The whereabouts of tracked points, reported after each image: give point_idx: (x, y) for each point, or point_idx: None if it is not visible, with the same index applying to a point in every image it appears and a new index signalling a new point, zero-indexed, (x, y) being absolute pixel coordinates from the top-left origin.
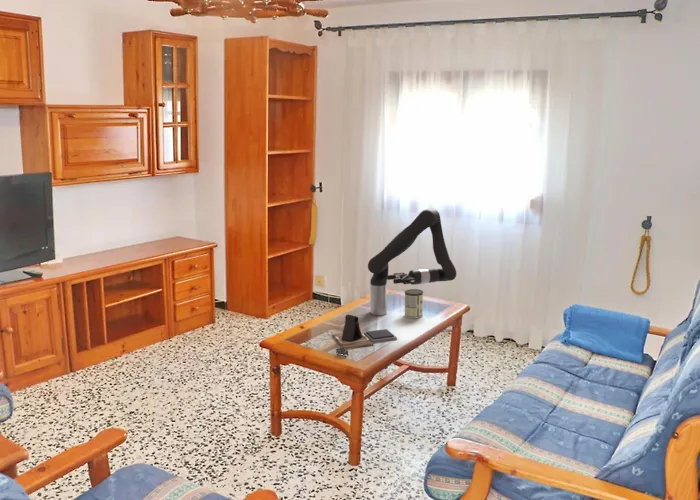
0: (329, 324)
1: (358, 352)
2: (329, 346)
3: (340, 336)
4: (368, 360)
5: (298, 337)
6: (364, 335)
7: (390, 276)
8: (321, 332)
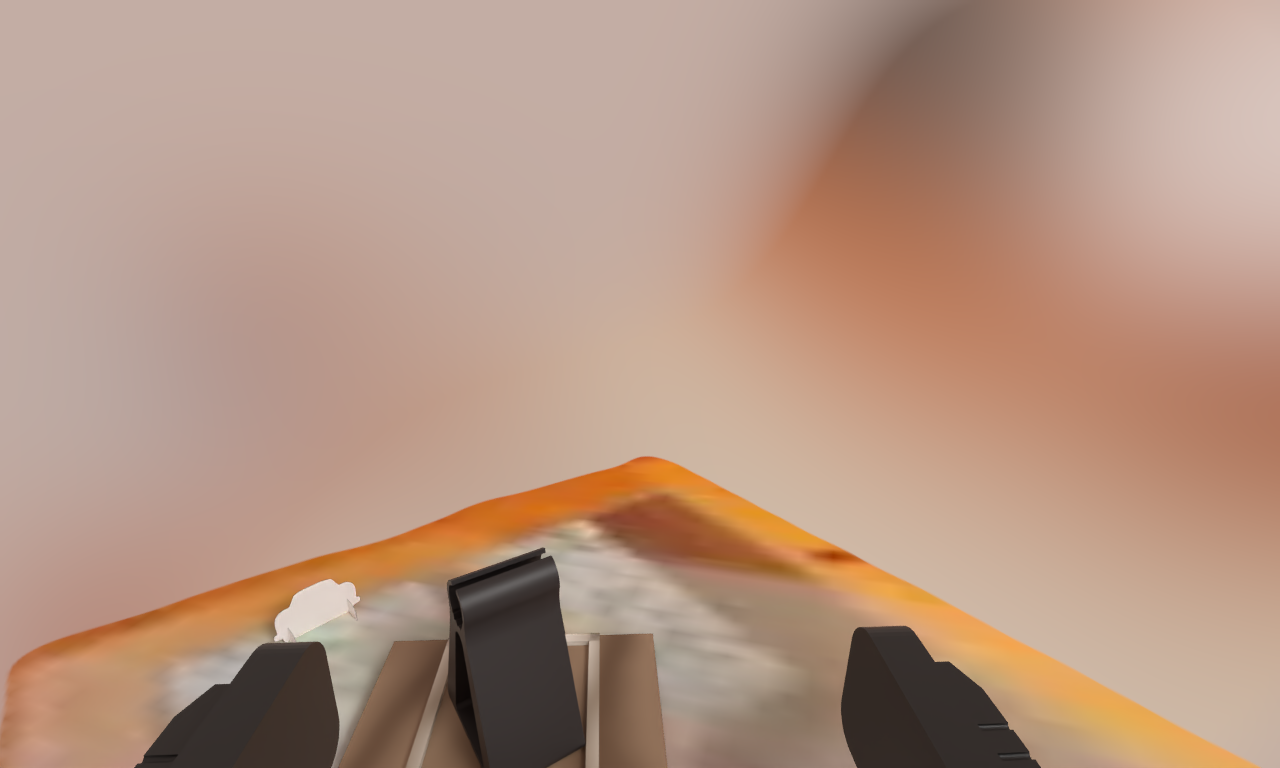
0: None
1: None
2: None
3: (589, 664)
4: (99, 729)
5: (677, 527)
6: None
7: (901, 733)
8: (733, 611)
